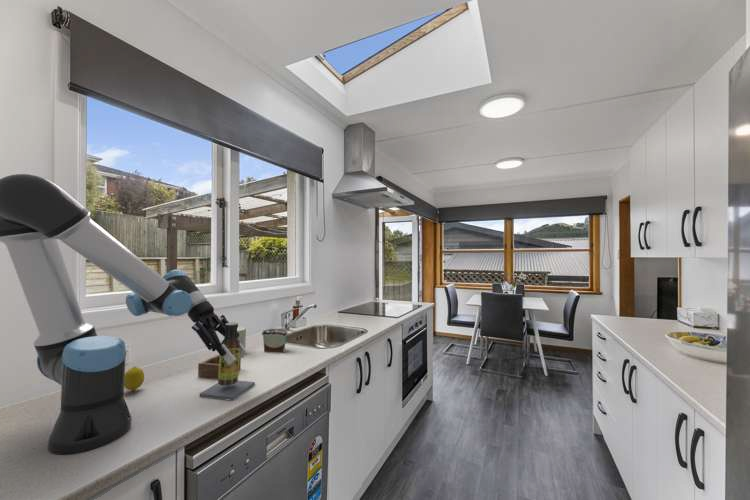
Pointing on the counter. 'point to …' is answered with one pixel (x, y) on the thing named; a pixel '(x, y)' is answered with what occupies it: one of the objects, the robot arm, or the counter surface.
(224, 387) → the rubber mat
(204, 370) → the walnut sleeve
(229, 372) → the sauce bottle
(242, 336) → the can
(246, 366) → the counter surface
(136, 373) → the lemon
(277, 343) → the food container
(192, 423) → the counter surface
